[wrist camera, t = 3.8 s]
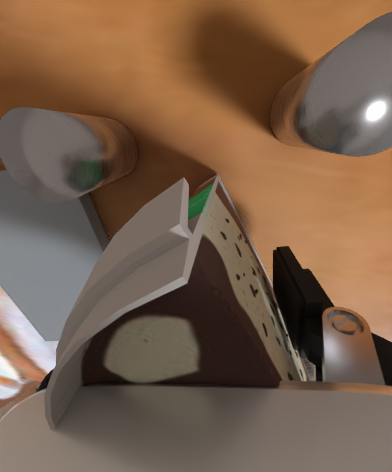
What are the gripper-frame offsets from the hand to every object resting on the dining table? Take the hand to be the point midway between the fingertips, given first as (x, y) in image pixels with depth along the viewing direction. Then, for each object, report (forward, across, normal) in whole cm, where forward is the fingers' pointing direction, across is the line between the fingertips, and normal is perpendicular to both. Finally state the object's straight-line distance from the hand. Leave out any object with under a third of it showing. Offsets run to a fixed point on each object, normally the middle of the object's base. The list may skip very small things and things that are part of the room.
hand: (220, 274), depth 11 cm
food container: (+2, +1, 0) cm, 3 cm away
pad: (+2, +13, 0) cm, 13 cm away
